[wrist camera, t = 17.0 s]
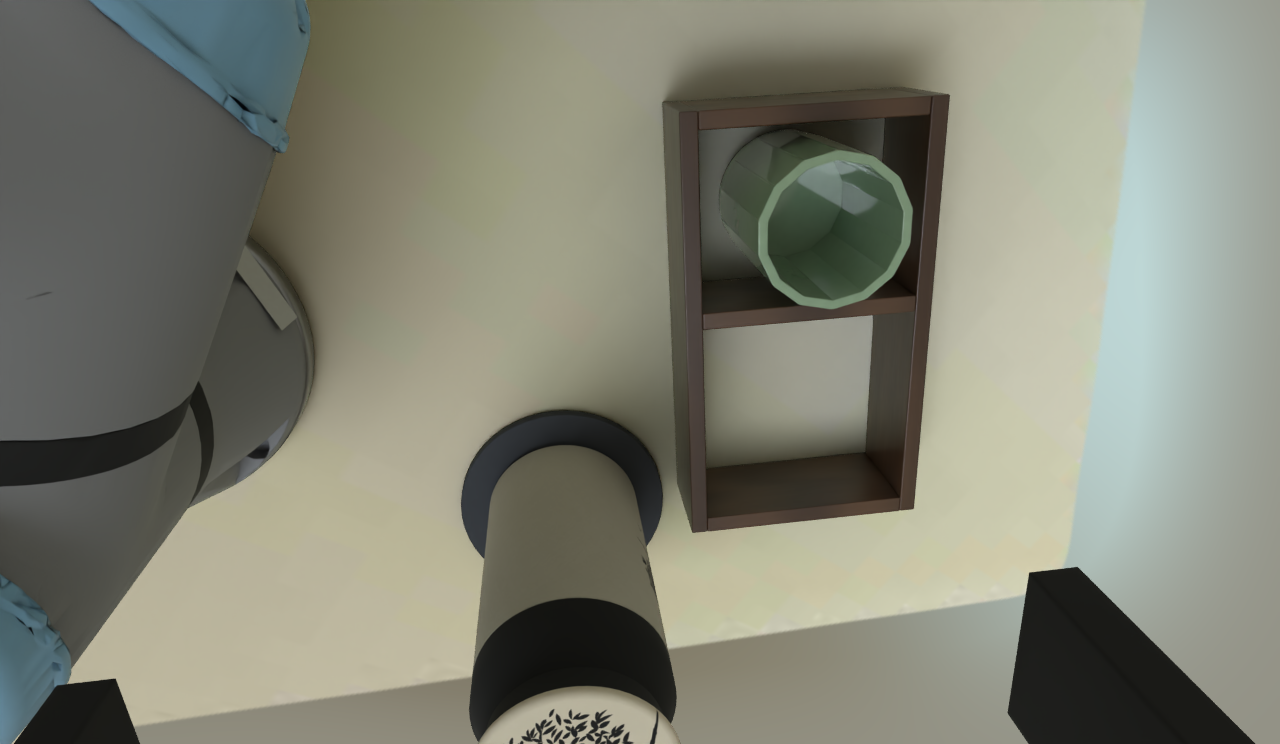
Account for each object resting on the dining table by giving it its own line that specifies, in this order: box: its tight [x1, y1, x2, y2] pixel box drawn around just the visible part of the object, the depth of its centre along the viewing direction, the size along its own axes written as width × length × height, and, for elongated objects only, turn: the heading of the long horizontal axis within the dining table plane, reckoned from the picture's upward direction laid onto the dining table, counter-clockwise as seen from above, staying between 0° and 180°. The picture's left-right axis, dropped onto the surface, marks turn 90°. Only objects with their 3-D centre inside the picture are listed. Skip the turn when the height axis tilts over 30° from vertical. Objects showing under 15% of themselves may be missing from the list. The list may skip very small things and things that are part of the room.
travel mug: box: [469, 445, 680, 744], centre depth 37 cm, size 8×8×18 cm
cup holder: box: [662, 87, 950, 533], centre depth 41 cm, size 12×20×5 cm, turn 3°
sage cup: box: [719, 129, 913, 309], centre depth 37 cm, size 6×6×8 cm
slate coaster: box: [461, 411, 663, 558], centre depth 46 cm, size 11×11×1 cm
